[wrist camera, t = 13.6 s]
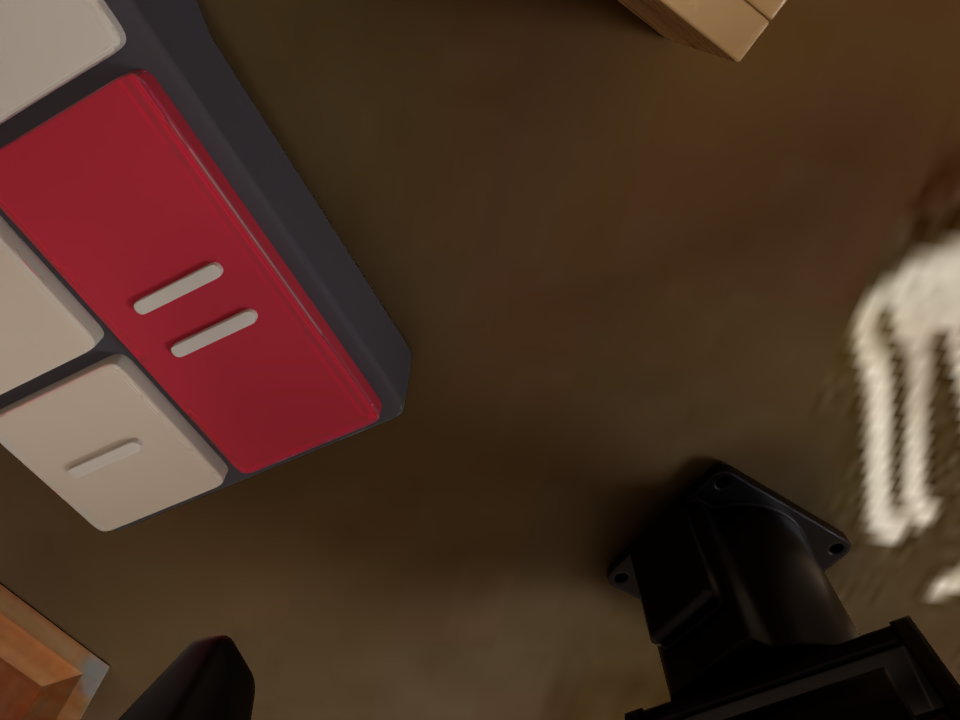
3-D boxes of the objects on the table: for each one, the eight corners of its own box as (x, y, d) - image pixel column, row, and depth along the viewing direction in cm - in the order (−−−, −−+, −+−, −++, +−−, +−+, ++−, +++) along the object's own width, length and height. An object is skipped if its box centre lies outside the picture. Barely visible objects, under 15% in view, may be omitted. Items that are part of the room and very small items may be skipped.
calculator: (97, 556, 21) (-437, 94, 13) (153, 463, 24) (-243, 60, 17) (408, 431, 18) (-41, -218, 11) (419, 348, 22) (87, -180, 15)
